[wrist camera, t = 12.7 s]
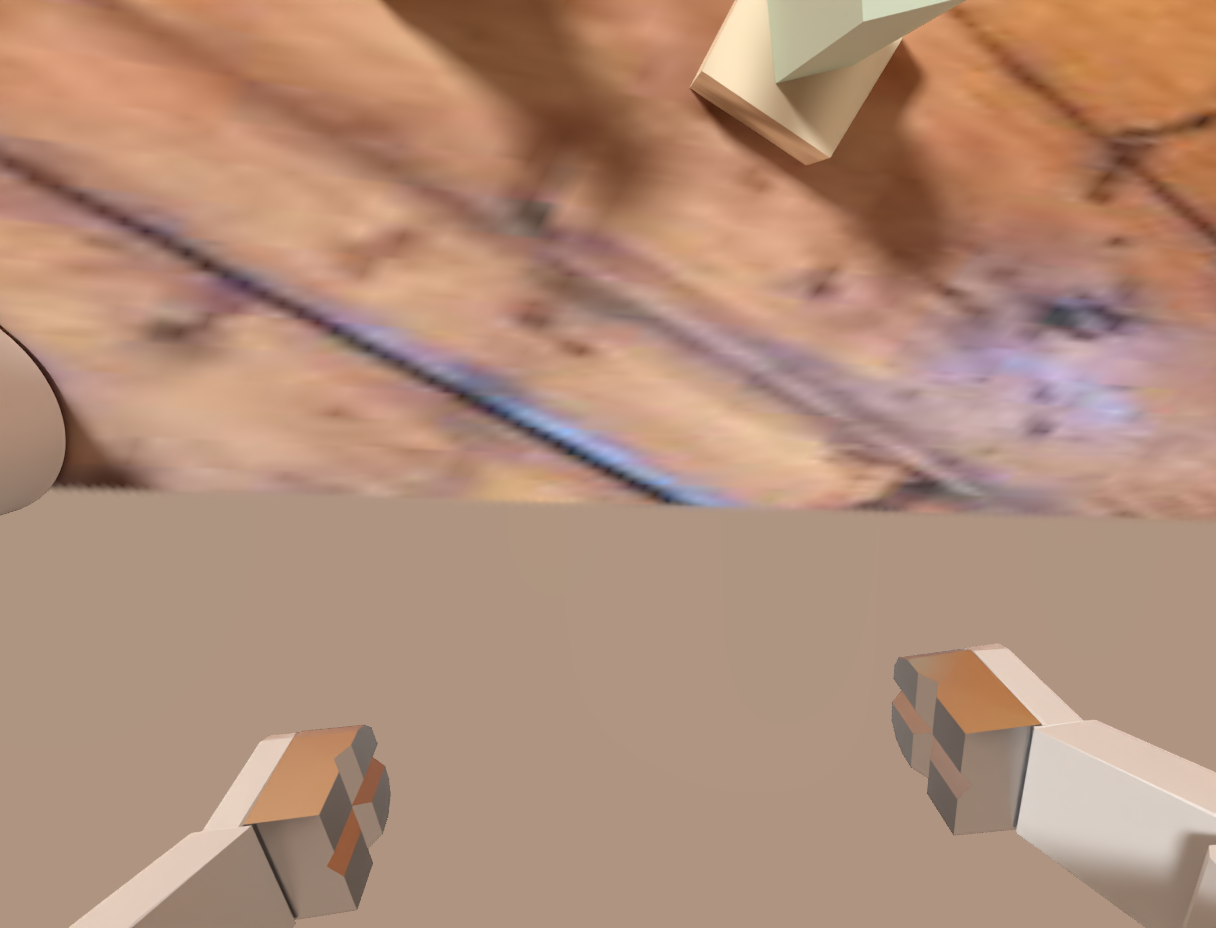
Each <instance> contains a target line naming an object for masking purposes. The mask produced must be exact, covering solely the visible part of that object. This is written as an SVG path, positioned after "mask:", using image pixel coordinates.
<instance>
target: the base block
mask: <svg viewBox="0 0 1216 928" xmlns="http://www.w3.org/2000/svg"><path fill="white" fill-rule="evenodd" d="M903 37H904V36H903ZM903 37H901V38H900V39H898V40H896V41H894V42H893V43H891V44H889V45H887V46H886V47H884V48H882V49H880V50H879V51H877V52H875V53H874V54H872V55H870V56H868V57H867V58H865V59H863V60H861V61H860V62H858V63H856V64H855V65H851V66H847V67H843V68H838V69H834V70H830V71H826V72H822V73H818V74H814V75H810V76H806V77H802V78H797V79H793V80H789V81H785V82H781V83H777V84H776V82H775V72H774V62H773V52H772V42H771V32H770V22H769V12H768V2H767V0H735V1H734V3H733V5H732V7H731V9H730V10H729V12H728V14H727V16H726V18H725V20H724V22H723V24H722V26H721V28H720V30H719V32H718V34H717V36H716V38H715V39H714V41H713V43H712V45H711V47H710V49H709V51H708V53H707V55H706V57H705V59H704V61H703V63H702V65H701V67H700V68H699V70H698V72H697V74H696V76H695V78H694V80H693V82H692V84H691V86H690V89H692V90H693V91H695V92H696V93H698V94H699V95H701V96H702V97H704V98H705V99H707V100H708V101H710V102H711V103H713V104H714V105H716V106H717V107H719V108H720V109H722V110H723V111H725V112H726V113H728V114H729V115H731V116H732V117H734V118H735V119H737V120H738V121H740V122H741V123H743V124H744V125H746V126H747V127H749V128H750V129H752V130H753V131H755V132H756V133H758V134H759V135H761V136H762V137H764V138H765V139H767V140H768V141H770V142H771V143H773V144H774V145H776V146H777V147H779V148H780V149H782V150H783V151H785V152H786V153H788V154H789V155H791V156H792V157H794V158H795V159H797V160H798V161H800V162H801V163H803V164H804V165H809V164H813V163H816V162H819V161H822V160H825V159H828V158H831V156H832V154H833V153H834V151H835V149H836V148H837V146H838V144H839V143H840V141H841V139H842V138H843V136H844V134H845V133H846V131H847V129H848V128H849V126H850V124H851V123H852V121H853V119H854V118H855V116H856V115H857V113H858V111H859V110H860V108H861V106H862V105H863V103H864V101H865V100H866V98H867V96H868V95H869V93H870V91H871V90H872V88H873V86H874V85H875V83H876V81H877V80H878V78H879V76H880V75H881V73H882V71H883V70H884V68H885V66H886V65H887V63H888V62H889V60H890V58H891V57H892V55H893V53H894V52H895V50H896V48H897V47H898V45H899V43H900V42H901V40H902V38H903Z"/></svg>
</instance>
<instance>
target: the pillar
mask: <svg viewBox="0 0 1216 928" xmlns="http://www.w3.org/2000/svg"><path fill="white" fill-rule="evenodd" d="M964 1H965V0H767V2H768V12H769V22H770V32H771V42H772V52H773V62H774V72H775V82H776V84H777V83H781V82H785V81H789V80H793V79H797V78H802V77H806V76H810V75H814V74H818V73H822V72H826V71H830V70H834V69H838V68H843V67H847V66H851V65H855V64H856V63H858V62H860V61H861V60H863V59H865V58H867V57H868V56H870V55H872V54H874V53H875V52H877V51H879V50H880V49H882V48H884V47H886V46H887V45H889V44H891V43H893V42H894V41H896V40H898V39H900V38H901V37H903V36H905V35H906V34H908V33H910V32H912V31H913V30H915V29H917V28H919V27H920V26H922V25H924V24H925V23H927V22H929V21H931V20H932V19H934V18H936V17H938V16H939V15H941V14H943V13H945V12H946V11H948V10H950V9H951V8H953V7H955V6H957V5H958V4H960V3H962V2H964Z"/></svg>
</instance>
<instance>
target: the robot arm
mask: <svg viewBox="0 0 1216 928" xmlns="http://www.w3.org/2000/svg"><path fill="white" fill-rule="evenodd" d="M65 445H66V439H65V427H64V422H63V418H62V414H61V410H60V408H59V405H58V402H57V400H56V397H55V395H54V393H53V391H52V389H51V387H50V385H49V384H48V382H47V380H46V379H45V377H44V376H43V374H42V373H41V371H40V370H39V368H38V367H37V366H36V364H35V363H34V362H33V361H32V359H31V358H30V357H29V356H28V355H27V354H26V352H25V351H24V350H23V349H22V348H21V347H20V346H19V345H18V344H17V343H16V342H15V341H13V340H12V339H11V338H10V337H9V336H8V335H7V334H5V333H4V332H3V331H2V330H1V329H0V515H3V514H6V513H9V512H13V511H16V510H19V509H21V508H23V507H25V506H28V505H29V504H31V503H33V502H34V501H36V500H37V499H39V498H40V497H41V496H42V495H43V494H45V493H46V492H47V490H48V489H49V488H50V487H51V486H52V484H53V483H54V482H55V480H56V478H57V476H58V474H59V472H60V470H61V467H62V464H63V460H64V455H65ZM894 680H895V682H896V683H897V685H898V686H899V687H900V689H901V690H902V691H901V692H900V693H899V695H898V696H897V697H896V698H895V699H894V701H893V702H892V723H893V727H894V732H895V735H896V740H897V742H898V744H899V747H900V749H901V751H902V753H903V755H904V757H905V758H906V760H907V762H908V763H909V765H910V766H911V768H913V769H915V770H916V771H918V772H919V773H921V774H922V775H924V776H926V777H927V778H928V790H927V794H928V795H929V797H930V799H931V800H932V802H933V803H934V805H935V806H936V808H937V810H938V811H939V812H940V814H941V816H942V818H943V819H944V821H945V822H946V824H947V826H948V827H949V829H950V830H951V832H952V833H953V835H962V834H973V833H983V832H994V831H1004V830H1013V829H1014V830H1015V829H1017V830H1016V833H1017V834H1018V835H1020V836H1021V837H1023V838H1024V839H1025V840H1027V841H1028V842H1029V843H1031V844H1032V845H1033V846H1035V847H1036V848H1038V849H1039V850H1040V851H1042V852H1043V853H1044V854H1046V855H1047V856H1048V857H1050V858H1051V859H1053V860H1054V861H1055V862H1057V863H1058V864H1059V865H1061V866H1062V867H1063V868H1065V869H1066V870H1068V871H1069V872H1070V873H1072V874H1073V875H1075V876H1076V877H1077V878H1078V879H1080V880H1081V881H1083V882H1084V883H1085V884H1087V885H1088V886H1089V887H1091V888H1092V889H1094V890H1095V891H1096V892H1098V893H1099V894H1100V895H1102V896H1103V897H1104V898H1106V899H1107V900H1108V901H1110V902H1111V903H1113V904H1114V905H1115V906H1117V907H1118V908H1119V909H1121V910H1122V911H1123V912H1125V913H1126V914H1128V915H1129V916H1130V917H1132V918H1133V919H1134V920H1136V921H1137V922H1138V923H1140V924H1141V925H1143V926H1144V927H1145V928H1216V773H1215V772H1213V771H1211V770H1209V769H1206V768H1204V767H1202V766H1200V765H1197V764H1195V763H1193V762H1191V761H1188V760H1186V759H1184V758H1181V757H1179V756H1177V755H1175V754H1172V753H1170V752H1168V751H1165V750H1163V749H1161V748H1159V747H1156V746H1154V745H1152V744H1149V743H1147V742H1145V741H1143V740H1140V739H1138V738H1136V737H1133V736H1131V735H1129V734H1127V733H1124V732H1122V731H1120V730H1117V729H1115V728H1113V727H1110V726H1108V725H1106V724H1104V723H1102V722H1099V721H1097V720H1086V721H1083V720H1082V719H1081V718H1080V717H1079V716H1078V715H1077V714H1076V713H1075V712H1074V711H1073V710H1072V709H1071V708H1070V707H1069V706H1068V705H1067V704H1066V703H1065V702H1063V701H1062V700H1061V699H1060V698H1059V697H1058V696H1057V695H1056V694H1055V693H1054V692H1053V691H1052V690H1051V689H1050V688H1049V687H1048V686H1047V685H1046V684H1044V682H1042V681H1041V680H1040V679H1039V678H1038V677H1037V676H1036V675H1035V674H1034V673H1033V672H1032V671H1031V670H1030V669H1029V668H1028V667H1027V666H1026V665H1024V663H1022V662H1021V661H1020V660H1019V659H1018V658H1017V657H1016V656H1015V655H1014V654H1013V653H1012V652H1011V651H1010V650H1009V649H1008V648H1006V647H1005V646H1002V645H1000V644H998V643H996V644H990V645H982V646H975V647H969V648H964V649H958V650H951V651H943V652H936V653H928V654H921V655H914V656H906V657H899V658H898V659H897V662H896V664H895V667H894ZM376 746H377V741H376V739H375V736H374V734H373V731H372V728H371V727H369V726H366V725H358V726H348V727H339V728H329V729H319V730H309V731H302V732H297V733H286V734H276V735H269V736H268V737H266V738H265V739H263V740H262V741H260V742H259V744H258V745H257V747H256V748H255V750H254V751H253V753H252V755H251V756H250V758H249V759H248V761H247V762H246V764H245V766H244V767H243V769H242V770H241V772H240V773H239V775H238V776H237V778H236V780H235V781H234V783H233V784H232V786H231V787H230V789H229V791H228V792H227V793H226V795H225V797H224V798H223V800H222V801H221V803H220V805H219V806H218V807H217V809H216V811H215V812H214V814H213V815H212V817H211V818H210V820H209V822H208V823H207V825H206V826H205V828H204V829H203V831H202V832H196V833H191V834H189V835H188V836H187V837H186V838H184V839H183V840H182V841H180V842H179V843H178V844H176V845H175V846H174V847H172V848H171V849H170V850H169V851H167V852H166V853H165V854H163V855H162V856H161V857H160V858H158V859H157V860H156V861H154V862H153V863H152V864H150V865H149V866H148V867H147V868H145V869H144V870H143V871H141V872H140V873H139V874H138V875H136V876H135V877H134V878H132V879H131V880H130V881H128V882H127V883H126V884H125V885H123V886H122V887H121V888H119V889H118V890H117V891H115V892H114V893H113V894H112V895H110V896H109V897H108V898H106V899H105V900H104V901H102V902H101V903H100V904H99V905H97V906H96V907H95V908H93V909H92V910H91V911H89V912H88V913H87V914H86V915H84V916H83V917H82V918H81V919H79V920H78V921H76V922H75V923H74V924H73V925H71V926H70V927H69V928H293V927H294V925H295V924H296V922H295V920H297V919H303V918H310V917H316V916H323V915H329V914H335V913H341V912H348V911H354V910H357V909H358V905H359V903H360V900H361V896H362V894H363V891H364V888H365V885H366V882H367V879H368V876H369V873H370V870H371V867H372V864H373V862H372V859H371V856H370V854H369V851H368V848H369V847H370V846H371V845H372V844H373V843H374V842H375V841H376V840H377V839H378V838H379V837H380V836H381V835H382V834H383V831H384V827H385V824H386V821H387V818H388V813H389V804H390V786H389V778H388V775H387V771H386V768H385V766H384V765H383V764H381V763H380V762H379V761H377V760H376V759H374V758H373V754H374V752H375V749H376Z"/></svg>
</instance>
